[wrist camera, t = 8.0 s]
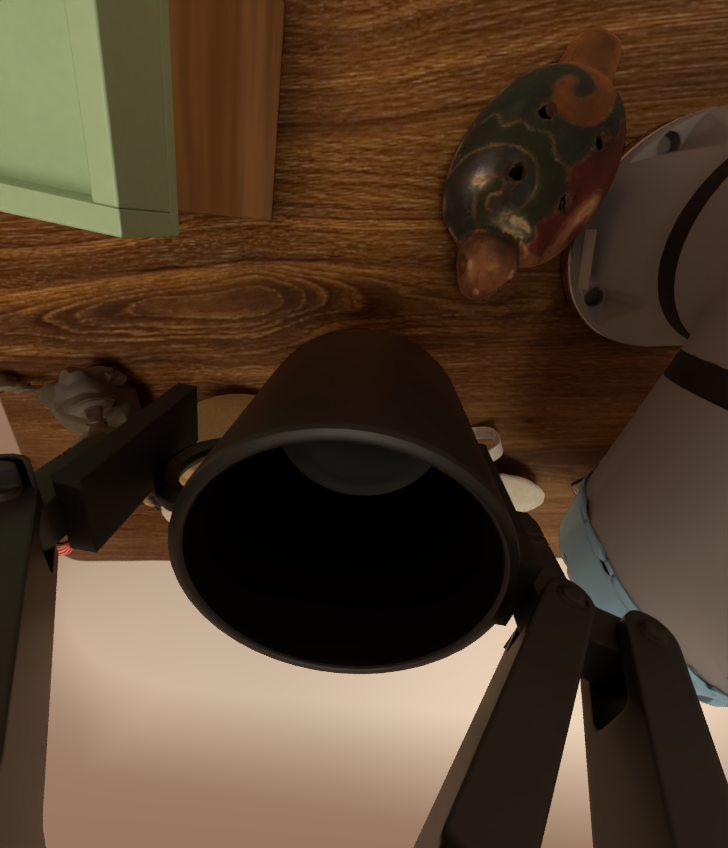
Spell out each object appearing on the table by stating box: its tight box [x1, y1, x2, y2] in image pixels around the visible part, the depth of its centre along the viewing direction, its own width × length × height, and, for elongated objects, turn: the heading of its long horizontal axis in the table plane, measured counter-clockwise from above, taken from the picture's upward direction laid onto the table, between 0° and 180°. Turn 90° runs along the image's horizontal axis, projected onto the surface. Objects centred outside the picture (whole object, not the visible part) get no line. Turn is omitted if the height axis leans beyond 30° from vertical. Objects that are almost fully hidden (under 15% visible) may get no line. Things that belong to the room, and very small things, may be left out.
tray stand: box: [168, 0, 285, 221], centre depth 18 cm, size 16×12×16 cm
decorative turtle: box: [442, 28, 626, 300], centre depth 23 cm, size 10×15×8 cm, turn 160°
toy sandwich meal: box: [179, 394, 256, 486], centre depth 31 cm, size 12×14×5 cm
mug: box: [154, 329, 520, 674], centre depth 14 cm, size 9×12×9 cm
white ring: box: [471, 426, 503, 461], centre depth 34 cm, size 3×5×5 cm, turn 110°
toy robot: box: [0, 365, 142, 447], centre depth 33 cm, size 9×25×12 cm
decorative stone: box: [499, 473, 545, 512], centre depth 37 cm, size 19×4×10 cm
